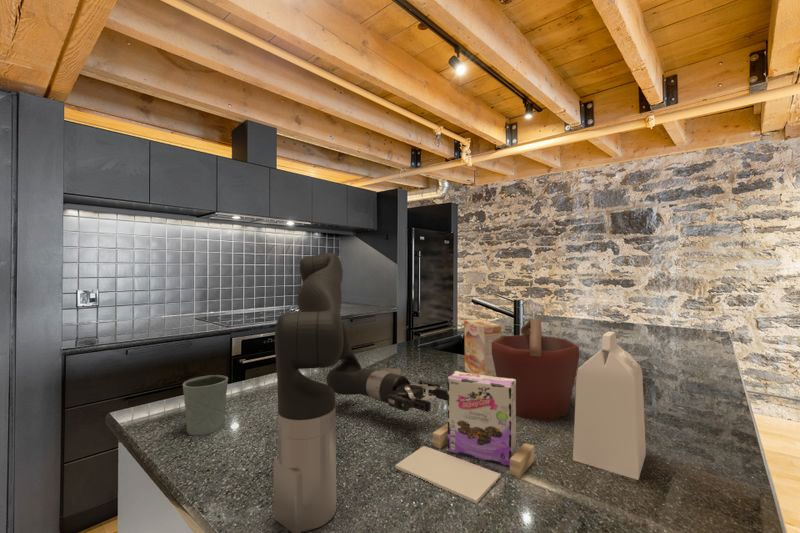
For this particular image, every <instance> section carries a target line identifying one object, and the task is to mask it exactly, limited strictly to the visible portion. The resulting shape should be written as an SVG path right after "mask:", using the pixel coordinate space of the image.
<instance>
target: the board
mask: <svg viewBox="0 0 800 533" xmlns="http://www.w3.org/2000/svg"><path fill="white" fill-rule="evenodd" d="M394 468H395V469H396V470H399V471H401V472H403V473H405V474H407V473H408V475H410V474H411V475H410V476H412V475H413V476H412V477H414V476H416V477H418V478H417V479H419V478H421V479H423V480H425V481H424V482H426V481H428V482H429V483H428V482H427V483H428V484H430V483H431V484H430V485H432V484H433V486H435V487H436V488H439V489H441V488H442V489H441V490H443V491H447V492H448V491H449V492H448V493H450V492H451V493H450V494H453V495H456V496H457V495H458V497H459V498H462V499H464V500H466V501H468V502H471V503H473V504H476V505H477V504H478V503H480V501H481V500H482V499H483V498H484V496H485V495H487V493H488V492H489V491H490V490H491V489H492V488H493V486H494V485H495V484H496V483H497V482H498V481H499V480H500V479H501V478H502V475H501V473H500V472H496V471H494V470H491V469H489V468H485V467H484V466H483V467H482V466H480V465H477V464H474V463H472V462H469V461H466V460H464V459H461V458H459V457H455V456H453V455H450V454H448V453H445V452H442V451H440V450H437V449H434V448H432V447H431V448H430V447H428V446H426V445H423V446H421V447H420V448H418V449H417V450H415V451H414V452H413V453H411V454H409V455H408V456H407V457H405V458H404V459H402V460H400V461H399V462H398V463H396V464H394ZM416 477H415V478H416ZM500 477H501V478H500ZM499 478H500V479H499ZM421 479H420V480H421ZM498 479H499V480H498ZM423 480H422V481H423ZM497 480H498V481H497ZM496 481H497V482H496ZM491 487H492V488H491ZM481 498H482V499H481Z"/></svg>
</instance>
